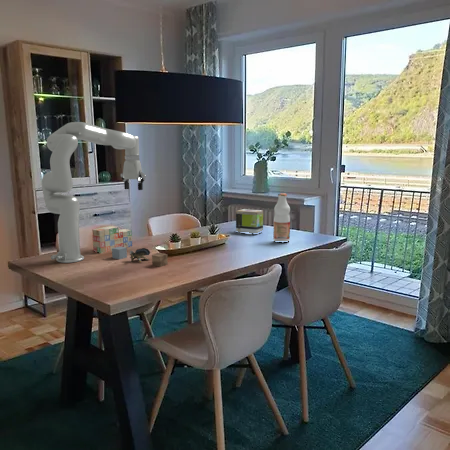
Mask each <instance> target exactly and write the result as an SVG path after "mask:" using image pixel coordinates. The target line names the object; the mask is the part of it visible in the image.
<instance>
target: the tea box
mask: <svg viewBox="0 0 450 450" xmlns="http://www.w3.org/2000/svg"><path fill="white" fill-rule="evenodd" d="M262 230H263V231H264V210H263V209H262V210H260V209H246V208H245V209H244V208H243V209H238V210H236V211H235V232H236V231H238V232H249V233H258V232H260V231H262Z"/></svg>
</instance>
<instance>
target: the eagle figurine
mask: <svg viewBox="0 0 450 450" xmlns="http://www.w3.org/2000/svg"><path fill="white" fill-rule="evenodd" d="M150 254H151V251H150V250H149V249H148V248H146V247H142V248H137V249H136V250H135V251H133V250H130V251H129V255H130V256H129V258H130V261H131V262H133V261H134V260H135V259H136V260H138V261H139V263H141V262H142V260H141V259H144V260H146V261H150V259H149V258H146V256H149V255H150Z"/></svg>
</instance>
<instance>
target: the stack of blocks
mask: <svg viewBox="0 0 450 450" xmlns="http://www.w3.org/2000/svg"><path fill="white" fill-rule="evenodd" d="M92 243H93V244H92V246H93V252H94V251H95V252H94V253H97V252H99V253H98V254H104V253H103V252H105V253H109V252H108V251H110V252H112V248H116V247H125V248H126V247H127V248H131V247H133V233H132V229H128V228H126V229H125V228H123V229H119V226H114V225H113V226H112V225H109V226H108V225H107V226H103V227H98V228H93V229H92ZM130 246H131V247H130Z"/></svg>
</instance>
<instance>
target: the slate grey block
mask: <svg viewBox="0 0 450 450" xmlns="http://www.w3.org/2000/svg"><path fill="white" fill-rule="evenodd" d="M127 248H128V247H127ZM127 248H125V247H116V248H112V251H111V252H112V253H111V254H112V255H111V256H112V259H116V260H123V259H126V258H128V249H127Z"/></svg>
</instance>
